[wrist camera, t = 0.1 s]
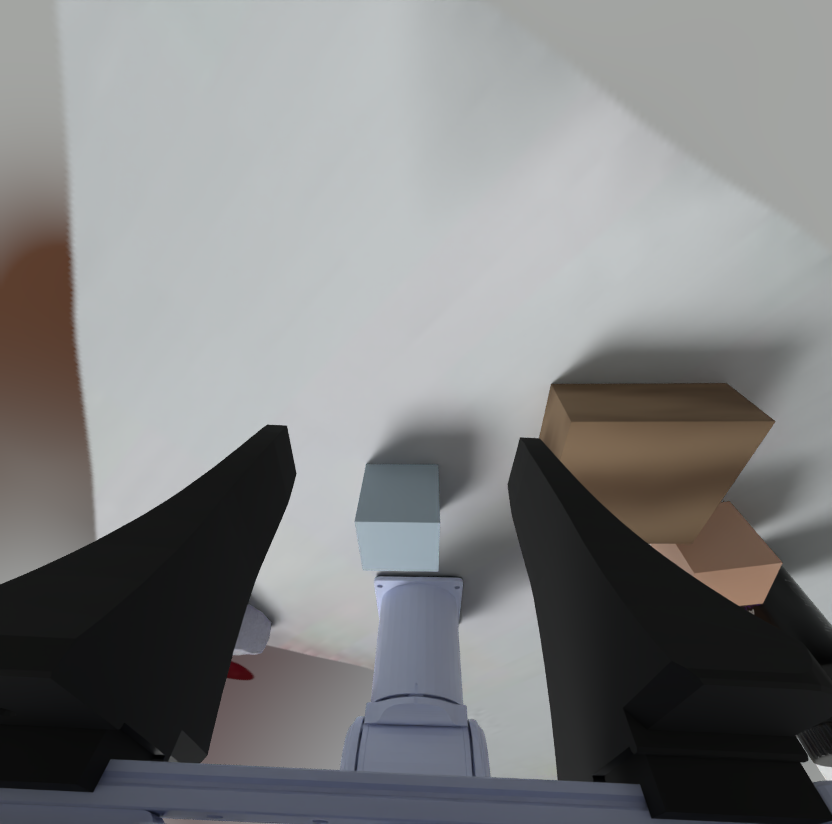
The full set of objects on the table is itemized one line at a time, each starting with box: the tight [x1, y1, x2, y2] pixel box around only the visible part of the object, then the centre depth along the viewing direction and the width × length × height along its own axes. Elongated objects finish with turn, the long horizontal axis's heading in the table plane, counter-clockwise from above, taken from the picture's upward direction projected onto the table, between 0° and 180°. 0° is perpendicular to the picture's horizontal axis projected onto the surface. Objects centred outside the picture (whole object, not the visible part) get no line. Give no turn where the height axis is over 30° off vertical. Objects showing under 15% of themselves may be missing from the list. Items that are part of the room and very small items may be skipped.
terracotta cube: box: [651, 501, 782, 606], centre depth 27 cm, size 5×5×5 cm
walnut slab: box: [539, 383, 775, 544], centre depth 23 cm, size 10×10×4 cm
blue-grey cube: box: [355, 464, 440, 572], centre depth 25 cm, size 5×5×5 cm
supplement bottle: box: [740, 565, 832, 767], centre depth 27 cm, size 7×7×12 cm
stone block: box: [233, 604, 272, 655], centre depth 38 cm, size 12×5×10 cm
